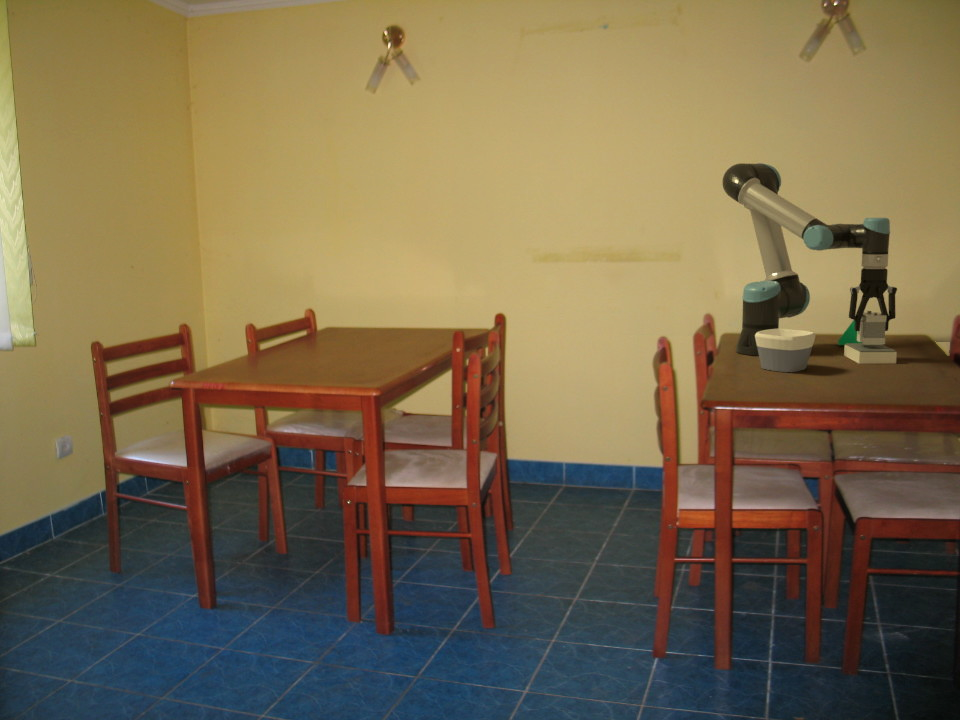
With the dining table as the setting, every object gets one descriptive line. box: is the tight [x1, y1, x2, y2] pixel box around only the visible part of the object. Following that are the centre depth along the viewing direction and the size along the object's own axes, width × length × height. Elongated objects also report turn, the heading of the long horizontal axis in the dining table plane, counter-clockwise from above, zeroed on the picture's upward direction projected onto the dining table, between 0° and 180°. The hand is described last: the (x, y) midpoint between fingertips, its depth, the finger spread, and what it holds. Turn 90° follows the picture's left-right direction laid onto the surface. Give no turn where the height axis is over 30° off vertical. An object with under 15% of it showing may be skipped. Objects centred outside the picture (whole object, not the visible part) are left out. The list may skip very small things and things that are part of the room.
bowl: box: [755, 328, 816, 373], centre depth 269 cm, size 15×15×11 cm
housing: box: [860, 310, 886, 345], centre depth 281 cm, size 6×8×10 cm
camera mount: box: [837, 319, 861, 346], centre depth 307 cm, size 12×8×10 cm, turn 64°
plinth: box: [843, 343, 897, 365], centre depth 283 cm, size 11×15×4 cm
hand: (870, 341), depth 282 cm, fingers closed on housing, 6 cm apart
